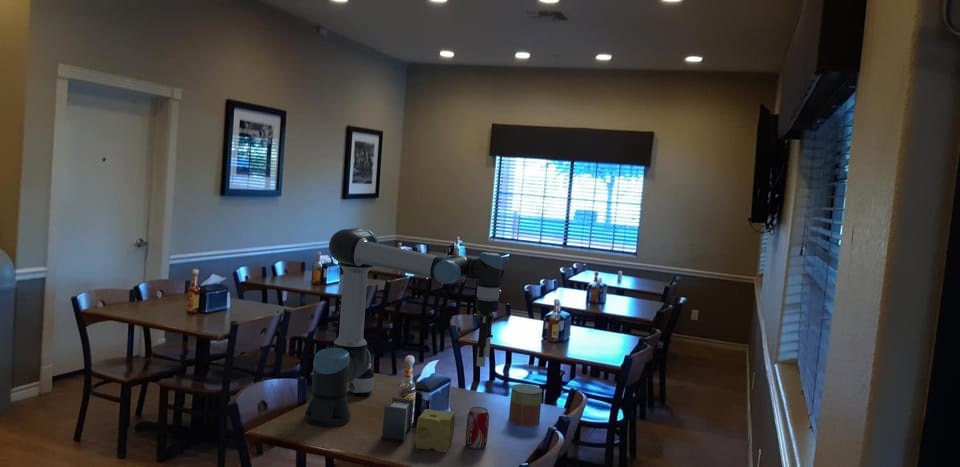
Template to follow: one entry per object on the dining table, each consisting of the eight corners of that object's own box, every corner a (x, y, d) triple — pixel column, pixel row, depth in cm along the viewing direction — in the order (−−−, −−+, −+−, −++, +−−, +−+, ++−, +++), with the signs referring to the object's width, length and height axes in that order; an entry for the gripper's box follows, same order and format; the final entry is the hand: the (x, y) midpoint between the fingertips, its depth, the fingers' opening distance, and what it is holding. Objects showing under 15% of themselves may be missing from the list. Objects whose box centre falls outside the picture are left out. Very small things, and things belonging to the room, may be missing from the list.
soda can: (484, 451, 218) (487, 414, 217) (462, 448, 219) (465, 411, 218) (488, 443, 224) (491, 407, 224) (467, 440, 226) (470, 404, 225)
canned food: (532, 415, 257) (535, 383, 256) (544, 426, 246) (547, 393, 245) (504, 416, 253) (507, 384, 252) (514, 427, 242) (517, 393, 242)
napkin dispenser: (403, 442, 219) (405, 409, 218) (381, 439, 220) (384, 406, 219) (411, 432, 229) (413, 399, 228) (390, 429, 230) (393, 397, 229)
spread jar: (376, 395, 265) (378, 365, 264) (351, 400, 257) (354, 369, 256) (357, 386, 273) (359, 358, 272) (333, 391, 265) (335, 361, 264)
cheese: (446, 453, 214) (449, 422, 213) (412, 448, 215) (415, 417, 215) (453, 441, 224) (456, 411, 223) (421, 437, 226) (424, 407, 225)
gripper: (495, 306, 218) (490, 371, 220) (502, 294, 243) (497, 353, 244) (471, 303, 219) (466, 369, 220) (481, 292, 244) (476, 351, 245)
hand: (482, 361), depth 232 cm, fingers open, 13 cm apart
